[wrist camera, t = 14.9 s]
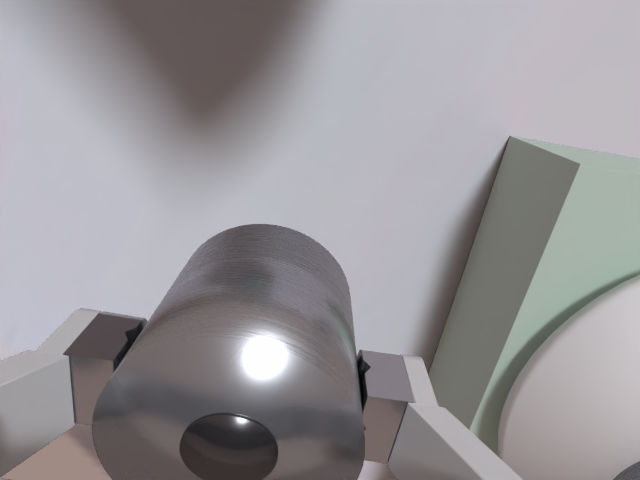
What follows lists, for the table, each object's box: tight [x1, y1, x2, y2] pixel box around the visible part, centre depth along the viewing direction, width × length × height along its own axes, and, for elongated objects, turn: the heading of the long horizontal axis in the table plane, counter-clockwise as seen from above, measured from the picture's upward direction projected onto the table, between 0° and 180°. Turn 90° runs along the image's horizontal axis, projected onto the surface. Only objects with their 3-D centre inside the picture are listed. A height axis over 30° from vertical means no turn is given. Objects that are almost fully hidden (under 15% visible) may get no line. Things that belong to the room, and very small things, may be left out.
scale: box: [428, 136, 640, 480], centre depth 22 cm, size 18×21×8 cm
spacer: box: [92, 224, 365, 480], centre depth 10 cm, size 5×5×5 cm
